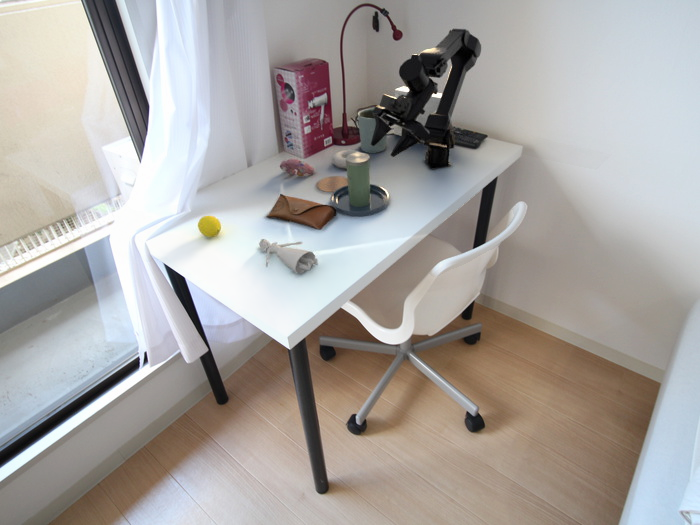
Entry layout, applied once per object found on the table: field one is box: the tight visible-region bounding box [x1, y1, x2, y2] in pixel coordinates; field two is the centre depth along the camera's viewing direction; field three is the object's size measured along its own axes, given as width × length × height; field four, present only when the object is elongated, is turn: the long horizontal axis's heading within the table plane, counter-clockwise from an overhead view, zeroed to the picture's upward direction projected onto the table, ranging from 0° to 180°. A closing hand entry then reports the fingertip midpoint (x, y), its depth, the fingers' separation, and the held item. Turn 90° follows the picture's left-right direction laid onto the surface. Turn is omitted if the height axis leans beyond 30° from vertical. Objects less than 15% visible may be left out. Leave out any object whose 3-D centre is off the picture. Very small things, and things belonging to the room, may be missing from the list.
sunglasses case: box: [266, 193, 338, 231], centre depth 115 cm, size 18×7×7 cm, turn 63°
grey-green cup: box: [357, 108, 388, 154], centre depth 146 cm, size 10×10×12 cm
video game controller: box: [279, 158, 315, 177], centre depth 134 cm, size 10×5×7 cm, turn 68°
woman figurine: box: [258, 238, 319, 275], centre depth 100 cm, size 12×4×18 cm
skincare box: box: [393, 86, 442, 137], centre depth 149 cm, size 21×6×16 cm, turn 46°
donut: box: [332, 149, 361, 170], centre depth 140 cm, size 10×4×10 cm
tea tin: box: [346, 152, 371, 207], centre depth 116 cm, size 6×6×13 cm
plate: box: [329, 183, 390, 218], centre depth 119 cm, size 16×16×2 cm
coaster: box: [316, 175, 348, 193], centre depth 129 cm, size 10×10×1 cm
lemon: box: [197, 215, 222, 238], centre depth 109 cm, size 7×5×5 cm
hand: (381, 150), depth 115 cm, fingers open, 9 cm apart
